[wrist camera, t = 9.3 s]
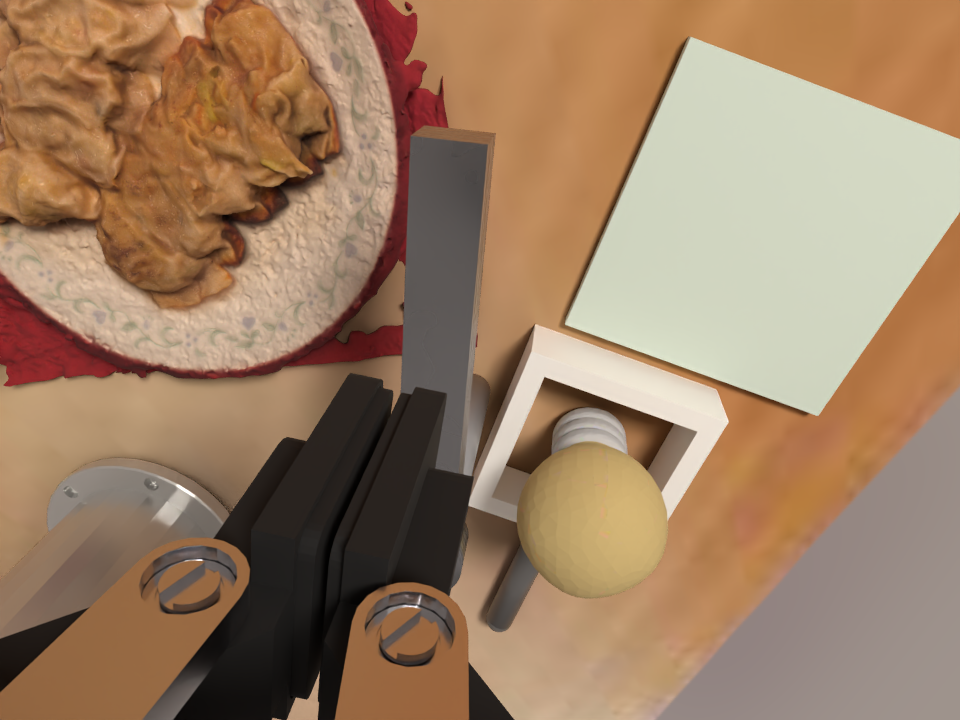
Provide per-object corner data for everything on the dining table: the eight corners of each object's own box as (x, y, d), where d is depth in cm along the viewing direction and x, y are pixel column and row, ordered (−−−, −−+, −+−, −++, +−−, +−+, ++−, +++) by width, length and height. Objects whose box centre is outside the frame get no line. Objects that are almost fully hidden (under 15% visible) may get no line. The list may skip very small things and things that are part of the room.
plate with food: (483, 338, 35) (475, 369, 31) (24, 374, 39) (-24, 405, 35) (394, -290, 24) (369, -338, 21) (-222, -151, 28) (-321, -174, 25)
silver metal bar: (509, 134, 19) (503, 146, 17) (465, 564, 26) (458, 600, 25) (410, 123, 19) (395, 134, 17) (394, 553, 26) (382, 587, 25)
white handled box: (567, 640, 42) (564, 815, 33) (382, 577, 42) (327, 736, 33) (716, 389, 33) (769, 534, 24) (482, 304, 33) (444, 419, 24)
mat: (814, 409, 33) (817, 416, 33) (565, 319, 33) (564, 324, 32) (991, 151, 27) (999, 154, 27) (688, 36, 27) (691, 36, 26)
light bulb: (612, 357, 33) (625, 481, 24) (673, 451, 35) (705, 598, 26) (504, 412, 35) (480, 544, 27) (567, 498, 37) (564, 647, 29)
